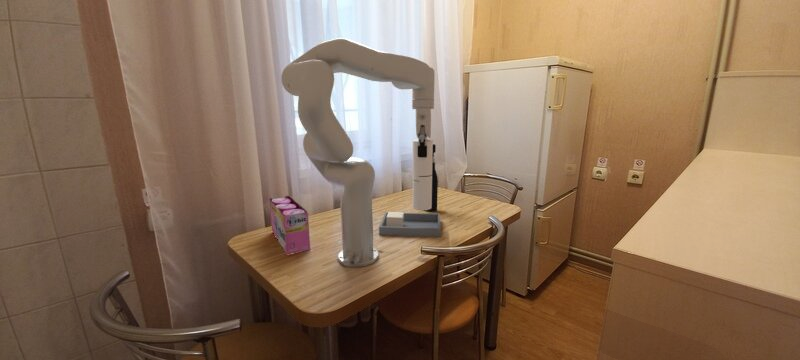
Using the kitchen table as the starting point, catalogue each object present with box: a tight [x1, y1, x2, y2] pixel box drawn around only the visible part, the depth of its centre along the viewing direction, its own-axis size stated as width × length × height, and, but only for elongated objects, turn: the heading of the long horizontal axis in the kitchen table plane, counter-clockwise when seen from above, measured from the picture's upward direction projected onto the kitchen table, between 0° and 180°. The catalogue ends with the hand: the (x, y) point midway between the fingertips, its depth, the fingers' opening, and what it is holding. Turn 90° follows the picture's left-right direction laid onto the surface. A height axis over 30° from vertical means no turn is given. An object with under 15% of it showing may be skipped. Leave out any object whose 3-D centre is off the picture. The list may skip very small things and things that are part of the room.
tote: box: [378, 211, 442, 238], centre depth 122 cm, size 16×22×4 cm
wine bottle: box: [422, 143, 439, 213], centre depth 139 cm, size 6×6×30 cm
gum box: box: [268, 195, 311, 255], centre depth 112 cm, size 24×8×14 cm, turn 33°
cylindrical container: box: [412, 139, 434, 211], centre depth 117 cm, size 7×7×25 cm
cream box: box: [386, 211, 405, 227], centre depth 122 cm, size 6×6×5 cm
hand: (422, 155), depth 115 cm, fingers closed on cylindrical container, 7 cm apart
